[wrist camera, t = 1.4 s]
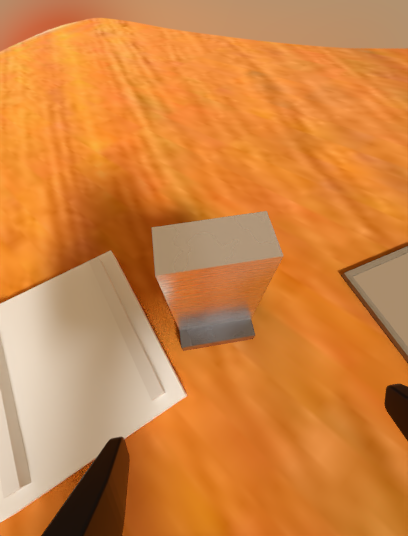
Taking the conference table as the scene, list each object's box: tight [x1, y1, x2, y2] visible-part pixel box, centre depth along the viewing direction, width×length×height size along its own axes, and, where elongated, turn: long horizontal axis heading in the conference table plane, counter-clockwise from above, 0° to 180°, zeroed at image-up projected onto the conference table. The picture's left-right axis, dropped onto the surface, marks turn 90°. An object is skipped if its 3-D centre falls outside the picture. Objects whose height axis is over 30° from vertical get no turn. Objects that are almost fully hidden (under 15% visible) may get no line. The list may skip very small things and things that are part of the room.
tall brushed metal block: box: [152, 211, 283, 351], centre depth 18 cm, size 6×6×12 cm
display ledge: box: [0, 250, 187, 523], centre depth 21 cm, size 16×14×3 cm
